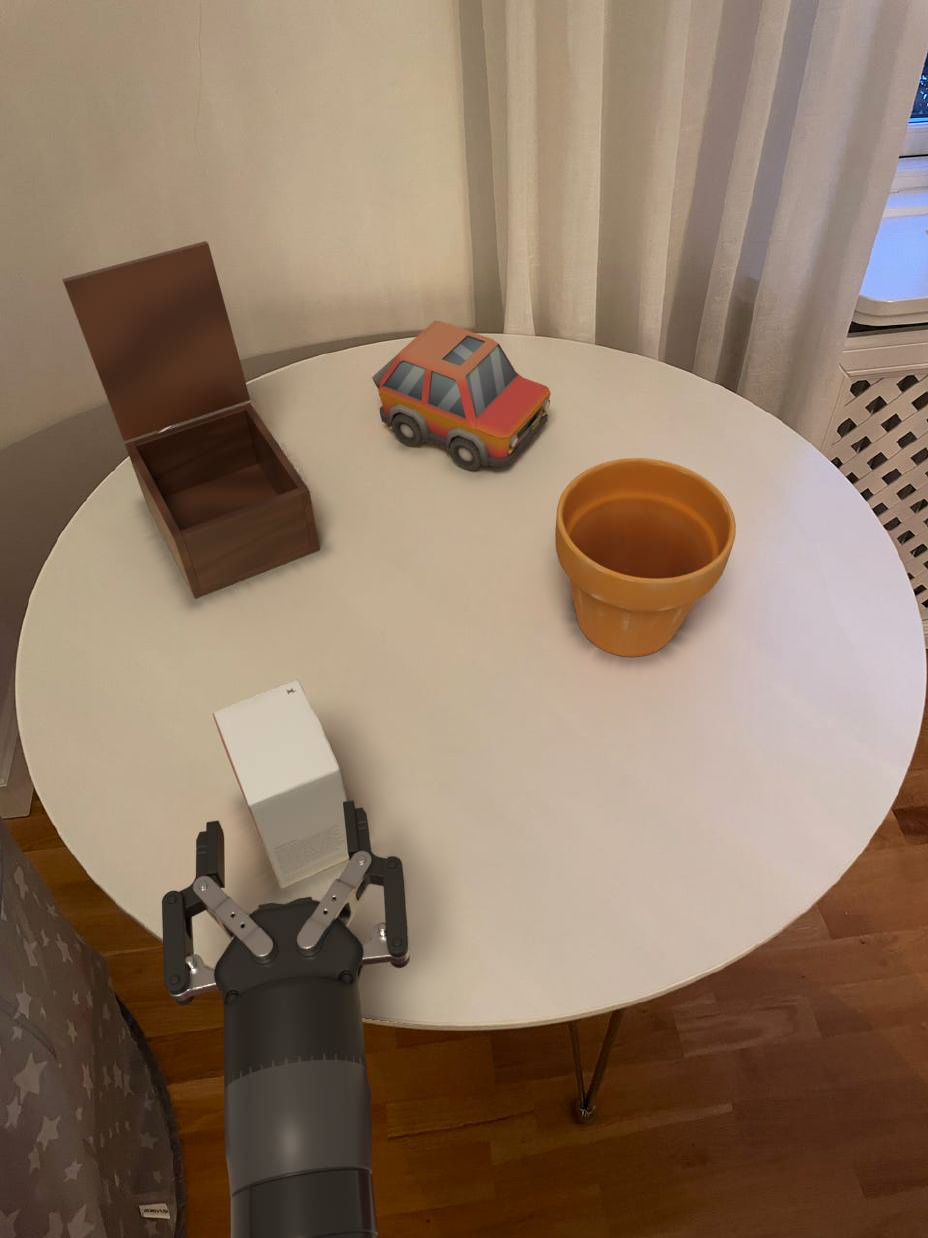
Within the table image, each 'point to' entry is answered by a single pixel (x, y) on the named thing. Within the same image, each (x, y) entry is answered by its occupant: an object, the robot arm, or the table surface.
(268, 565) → the case
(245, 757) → the small box
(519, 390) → the toy car
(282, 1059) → the robot arm
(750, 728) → the table surface
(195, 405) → the lid
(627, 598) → the flower pot
